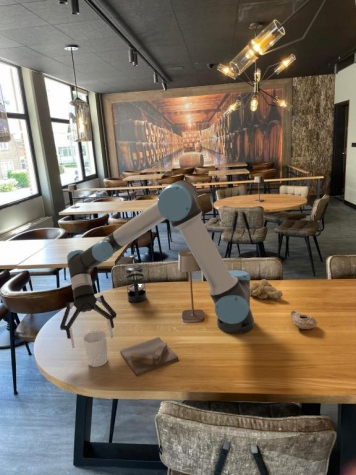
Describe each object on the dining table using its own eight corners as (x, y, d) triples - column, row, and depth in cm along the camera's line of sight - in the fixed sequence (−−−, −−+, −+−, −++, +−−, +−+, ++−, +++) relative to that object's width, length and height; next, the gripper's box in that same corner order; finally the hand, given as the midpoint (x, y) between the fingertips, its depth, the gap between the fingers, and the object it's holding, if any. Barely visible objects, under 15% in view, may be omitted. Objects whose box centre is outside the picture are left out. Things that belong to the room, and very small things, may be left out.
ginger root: (242, 287, 174) (246, 272, 171) (272, 292, 174) (276, 278, 172) (246, 301, 159) (251, 286, 157) (280, 308, 159) (284, 293, 157)
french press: (147, 302, 166) (143, 257, 160) (128, 304, 164) (123, 259, 158) (145, 292, 177) (141, 250, 171) (127, 294, 176) (122, 252, 170)
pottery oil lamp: (300, 315, 145) (309, 303, 142) (312, 338, 135) (322, 326, 132) (282, 312, 142) (291, 300, 139) (294, 335, 133) (304, 323, 129)
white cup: (103, 369, 118) (100, 343, 115) (83, 367, 120) (79, 342, 117) (112, 355, 125) (109, 331, 123) (92, 354, 127) (89, 330, 124)
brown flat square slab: (120, 352, 127) (119, 344, 126) (158, 339, 134) (158, 331, 133) (136, 375, 114) (135, 367, 113) (178, 359, 121) (177, 351, 120)
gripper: (113, 285, 139) (126, 336, 129) (49, 298, 130) (57, 354, 120) (115, 277, 132) (128, 330, 123) (47, 290, 124) (55, 348, 114)
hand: (93, 342), depth 122 cm, fingers open, 13 cm apart
